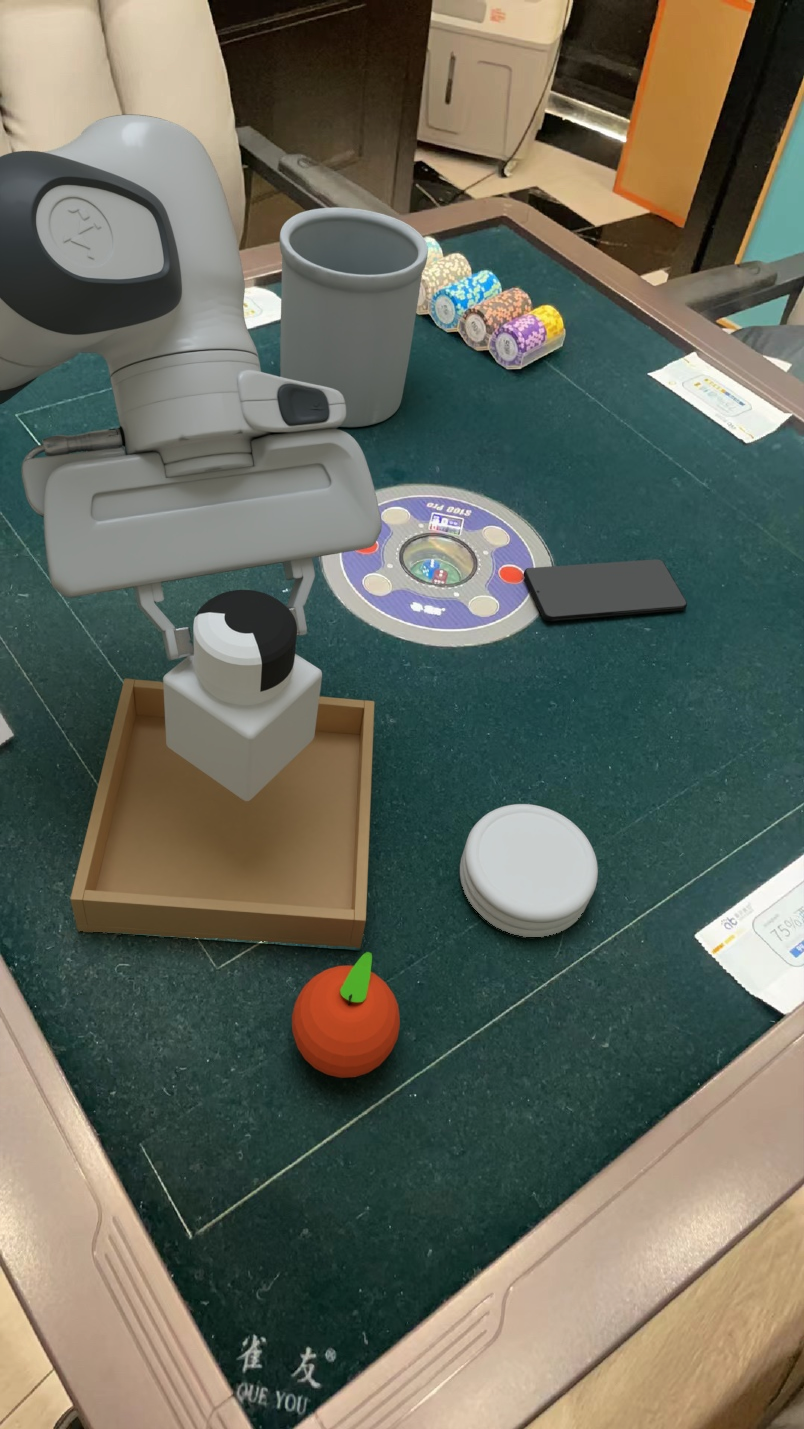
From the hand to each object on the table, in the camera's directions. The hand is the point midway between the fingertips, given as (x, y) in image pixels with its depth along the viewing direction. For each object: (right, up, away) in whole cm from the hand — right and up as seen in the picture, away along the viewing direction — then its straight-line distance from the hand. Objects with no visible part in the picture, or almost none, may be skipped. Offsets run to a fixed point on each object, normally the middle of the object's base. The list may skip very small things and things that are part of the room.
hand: (238, 646), depth 65 cm
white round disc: (+19, -17, +15) cm, 30 cm away
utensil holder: (+3, +32, +53) cm, 62 cm away
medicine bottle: (-1, -6, +6) cm, 8 cm away
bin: (-3, -13, +15) cm, 20 cm away
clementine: (+6, -26, +6) cm, 27 cm away
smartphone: (+30, +7, +37) cm, 48 cm away
